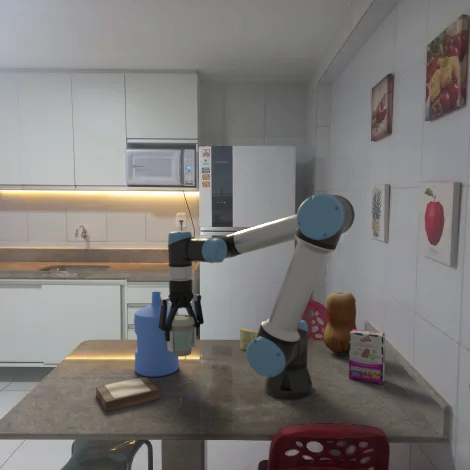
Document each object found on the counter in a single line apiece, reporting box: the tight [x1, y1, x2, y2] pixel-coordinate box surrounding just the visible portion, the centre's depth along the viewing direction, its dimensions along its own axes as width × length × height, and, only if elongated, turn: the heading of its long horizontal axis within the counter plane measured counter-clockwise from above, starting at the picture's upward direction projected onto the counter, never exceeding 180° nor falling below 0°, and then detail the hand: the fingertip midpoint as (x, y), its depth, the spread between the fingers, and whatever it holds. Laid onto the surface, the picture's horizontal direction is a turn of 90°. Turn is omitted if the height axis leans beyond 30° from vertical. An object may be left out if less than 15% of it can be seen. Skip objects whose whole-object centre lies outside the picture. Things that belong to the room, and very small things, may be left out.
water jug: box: [133, 291, 180, 378], centre depth 154 cm, size 16×16×28 cm
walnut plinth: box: [95, 376, 160, 412], centre depth 132 cm, size 12×16×3 cm
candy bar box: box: [348, 329, 386, 385], centre depth 146 cm, size 11×5×16 cm, turn 64°
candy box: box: [239, 328, 259, 351], centre depth 174 cm, size 16×2×8 cm, turn 59°
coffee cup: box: [170, 314, 195, 357], centre depth 140 cm, size 8×9×12 cm
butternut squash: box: [323, 290, 358, 356], centre depth 171 cm, size 14×13×25 cm
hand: (182, 348), depth 141 cm, fingers closed on coffee cup, 8 cm apart
